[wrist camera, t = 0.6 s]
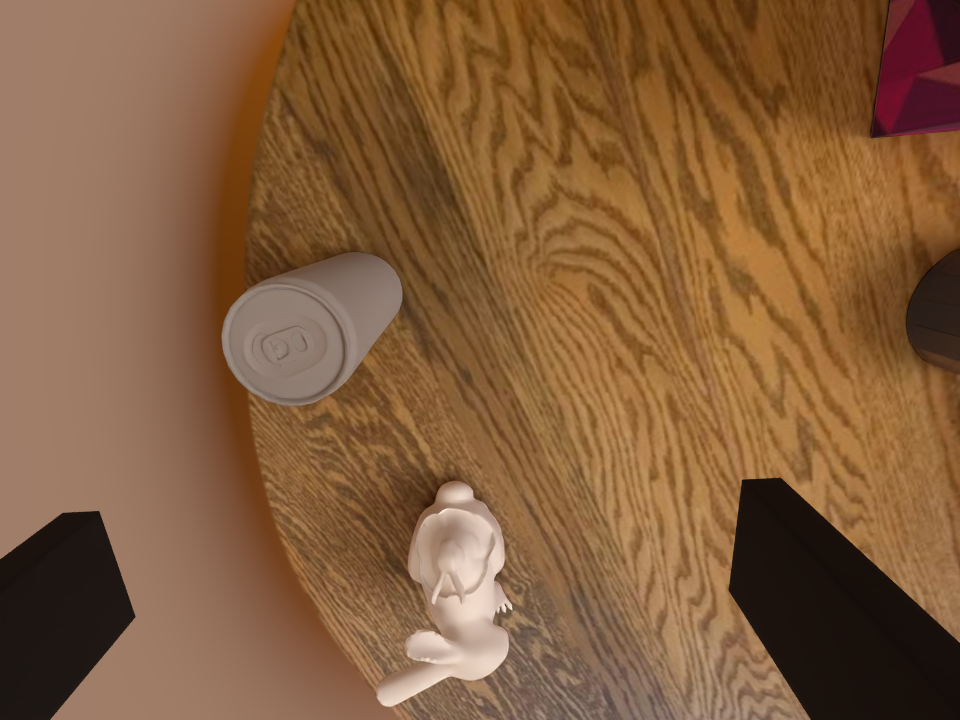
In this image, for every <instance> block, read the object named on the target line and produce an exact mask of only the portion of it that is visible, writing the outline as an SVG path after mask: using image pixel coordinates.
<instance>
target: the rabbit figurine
mask: <svg viewBox="0 0 960 720" xmlns="http://www.w3.org/2000/svg"><path fill="white" fill-rule="evenodd" d="M504 560H505V554H504V540H503V537H502V531H501V528H500V526H499V524H498V522H497V520H496V518H495V517H494V516H493V515H492V514H491V512H490V511H489V509H488V507H487V506H486V504H485V503H484V502H482V501H479V500H477V499H475V498H474V496H473V490H472V489H471V488H470V487H469V486H468V485H467V484H465V483H463V482H461V481H450V482H447V483H445V484H444V485H442V486H441V487H440V489H439V490H438V492H437V495H436V500H435V503H434V504H433V505H431V506H430V507H428V508H426V509H425V510H424V511H423V513H422V514H421V515H420V516H419V518H418V521H417V525H416V527H415V530H414V533H413V537H412V540H411V544H410V551H409V554H408V571H409V574H410V576H411V578H412V579H413V580H415V581H416V582H418V583H420V584H422V587H423V591H424V593H425V595H426V598H427V601H428V606H429V609H430V612H431V616H432V619H433V621H434V623H435V624H436V626H437V627H438V628H439V630H440V631H441V635H439V634H438V633H436V632H434V631H430V630H416V631H415V632H414V633H412V635H411V636H409V637H407V639H406V642H405V651H406V654H407V656H408V657H410V658H411V659H413V660H417V661H424V662H421V663H419V664H416V665H414V666H411V667H409V668H406V669H404V670H401V671H397V672H395V673H392V674H390V675H389V676H387V677H385V678H384V679H382V680H381V681H380V682H379V683H378V685H377V692H376V696H377V699H378V700H379V702H380V703H381V704H382V705H384V706H390V707H392V706H394V705H396V704H398V703H400V702H402V701H404V700H406V699H407V698H409V697H411V696H413V695H415V694H417V693H419V692H421V691H423V690H425V689H427V688H429V687H430V686H432V685H434V684H436V683H437V682H439V681H441V680H442V679H444V678H447V677H450V676H453V677H456V678H460V679H463V680H470V681H471V680H477V679H481V678H483V677H485V676H487V675H489V674H490V673H491V672H493V671H494V670H495V669H496V668H497V667H498V666H499V665H500V664H501V663H502V662H503V661H504V659H505V657H506V656H507V653H508V648H509V643H508V634H507V632H506V631H505V629H503V628H502V627H500V626H496V625H494V624H493V618H494V615H495V611H496V612H497V613H499V610H500V608H499V607H501V609H502V611H504V612H505V613H506V607H505V604H506V605H507V607H508V608H510V609H511V610H512V604H511V603H510V602H509V600H508V599H507V597H506V596H505V594H504V592H503V590H502V587H501V585H500V584H499V583H498V582H497V581H494V578H495V576H496V574H497V573H498V572H499V571H500V570H501V568H502V567H503V565H504ZM504 603H505V604H504Z"/></svg>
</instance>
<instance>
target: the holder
mask: <svg viewBox="0 0 960 720" xmlns="http://www.w3.org/2000/svg"><path fill="white" fill-rule="evenodd" d="M907 332H908V336H909V340H910V342H911V344H912V346H913V348H914V349H915V351H916V352H917V354H918V355H919V356H920V357H921V358H922V359H924V360H925V361H927V362H928V363H930V364H932V365H934V366H936V367H939V368H942V369H945V370H947V371H950V372H952V373H955V374H958V375H960V249H958V250H956V251H954V252H952V253H951V254H949V255H947V256H946V257H945V258H943V259H942V260H941V261H939V262H938V263H937V264H936V265H935V266H934V267H933V268H932V269H931V270H930V271H929V272H928V273H927V274H926V275H925V277H924V278H923V279H922V281H921V282H920V284H919V285H918V287H917V289H916V291H915V292H914V295H913V297H912V299H911V302H910V305H909V309H908V314H907Z"/></svg>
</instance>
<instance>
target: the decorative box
mask: <svg viewBox="0 0 960 720" xmlns="http://www.w3.org/2000/svg"><path fill="white" fill-rule="evenodd" d="M957 130H960V0H890V7H889V14H888V21H887V28H886V35H885V42H884V49H883V56H882V63H881V70H880V78H879V85H878V92H877V99H876V106H875V113H874V120H873V127H872V134H871V138H878V137H889V136H901V135H912V134H923V133H934V132H946V131H957Z"/></svg>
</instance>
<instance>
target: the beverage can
mask: <svg viewBox="0 0 960 720" xmlns="http://www.w3.org/2000/svg"><path fill="white" fill-rule="evenodd" d="M401 303H402V287H401V283H400V279H399V277H398V276H397V274H396V272H395V270H394V269H393V268H392V267H391V266H390V265H389V264H388V263H387V262H385V261H384V260H382V259H381V258H379V257H377V256H374V255H371V254H368V253H362V252H350V253H343V254H340V255H337V256H334V257H331V258H328V259H325V260H322V261H319V262H316V263H313V264H310V265H307V266H304V267H301V268H298V269H295V270H292V271H289V272H286V273H283V274H280V275H277V276H274V277H271V278H268V279H266V280H264V281H262V282H260V283H258V284H256V285H254V286H253V287H251V288H249V289H248V290H247V291H246V292H245V293H244V294H243V295H242V296H241V297H240V298H239V299H238V300H237V301H236V302H235V303H234V304H233V305H232V306H231V308H230V310H229V312H228V314H227V315H226V317H225V319H224V324H223V330H222V345H223V352H224V355H225V358H226V360H227V363H228V366H229V368H230V369H231V371H232V372H233V373H234V375H235V376H236V378H237V379H238V381H239V382H240V383H241V384H243V385H244V386H245V387H246V388H247V389H248V390H249V391H250V392H251V393H253V394H255V395H257V396H259V397H260V398H262V399H264V400H266V401H269V402H273V403H276V404H279V405H289V406H300V405H305V404H310V403H314V402H316V401H318V400H320V399H322V398H324V397H326V396H327V395H329V394H331V393H333V392H335V391H336V390H337V389H338V388H339V387H340V386H341V385H343V384H344V383H345V382H346V381H347V380H348V379H349V377H350V376H351V375H352V373H353V372H354V371H355V370H356V368H357V367H358V366H359V364H360V363H361V361H362V360H363V359H364V357H365V356H366V354H367V353H368V351H369V350H370V349H371V347H372V346H373V344H374V343H375V342H376V340H377V339H378V338H379V336H380V335H381V334H382V333H383V331H384V330H385V329H386V327H387V326H388V325H389V324H390V322H391V321H392V320H393V319H394V317H395V316H396V314H397V313H398V311H399V309H400V306H401Z"/></svg>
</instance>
